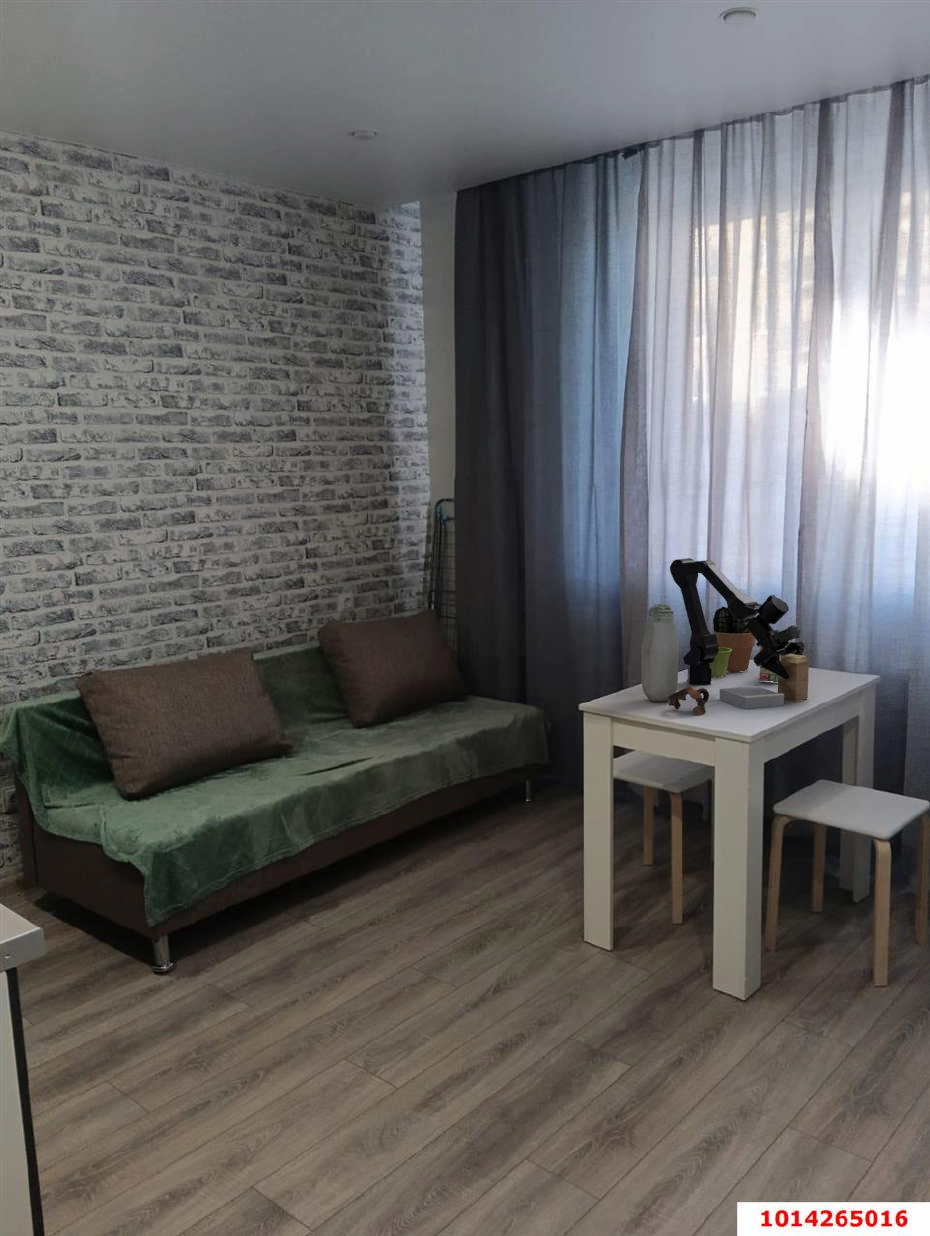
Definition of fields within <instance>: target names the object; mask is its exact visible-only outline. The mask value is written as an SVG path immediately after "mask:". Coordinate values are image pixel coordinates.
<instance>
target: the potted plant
mask: <svg viewBox="0 0 930 1236" xmlns="http://www.w3.org/2000/svg"><path fill="white" fill-rule="evenodd" d="M750 619H751V618H748V619H743V620H739V619H736V618H734V616H733V615H732V613H731V612H730V610H729V609H728V606H727V607H726V606H721V607H719V608H718V609H716V610H715V613H714V616H713V619H712V626H713V628H712V629H713V631H712V634H716V636H717V642H718V644H719V646H718V647H725V648H730V649H732V651H731V652H730V656H729V660H728V666H727V671H730V672H729V673H741V672H740V671H745V670H747V669H748V670H749V665H750V662H751V661H750V660H751V655H752V651H753V647H755V645H756V639H755V638H754V636H753V635H752V634H751V632H750V631H748V632H741V629H742V623H746V622H748V621H749V620H750ZM748 670H747V671H748ZM745 672H746V671H745Z"/></svg>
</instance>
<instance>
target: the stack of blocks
mask: <svg viewBox="0 0 930 1236" xmlns="http://www.w3.org/2000/svg"><path fill="white" fill-rule="evenodd" d="M789 642H790V643H791V642H793V639H792V640H790V641H789ZM790 643H789V644H790ZM789 644H788V645H789ZM788 645H786V646H785V647H787V646H788ZM762 649H763V648H762V647H761V646H759V652H760V651H761V650H762ZM779 660H780V661H781V656H779ZM758 680H760V681H773V682H778V675H777V674H775V673H773V672H771V671H769V670H767V669H764V668H761V666H759V679H758Z"/></svg>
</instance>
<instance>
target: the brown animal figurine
mask: <svg viewBox="0 0 930 1236" xmlns="http://www.w3.org/2000/svg"><path fill="white" fill-rule="evenodd" d="M688 695H689V697H690V698H692V699H693V700H695V701H696V704H697V705H696V706H695V707H693V709H692V710H693V712H694V714H695V716H699V715H702V714H704V713H706V707H705V705H706V704H707V702H708V701H709V698H710V692H709V691H708V690H707V688H704V687H703V688H699V689H694V688H693V687H692V685H688V686H686V687H684V688H683V689H680V690H678V691H676V692H675V693H674V694H672V695H670V696H669V697H668V699H669V700H668V701H669V702H668V706H672V707H674V708H675V709H676V710H678V709H680V707H681V706H682V705H681V703H680V701H687V698H686V697H687V696H688Z"/></svg>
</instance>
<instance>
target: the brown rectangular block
mask: <svg viewBox="0 0 930 1236" xmlns="http://www.w3.org/2000/svg"><path fill="white" fill-rule="evenodd" d="M780 662H781V664H782V665H783V667H784V669H785V670H786V672H787V673H788V675H789V679H787V680H786V679H784V678H783V677H781V676H779V675H778V684H777V693H779V694H780V693H782V694H784V701H787V702H792V701H793V703H798V702H802V701H805V700H804V699H806V700H808V699H809V698H808V697H809V695H808V694H809V668H810V667H809V666H810V665H809V662H810V661H808V660H807V656H806V655H803V654H802V655H794V654H789V655H784V656H781V661H780ZM807 698H808V699H807ZM801 700H802V701H801Z"/></svg>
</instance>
